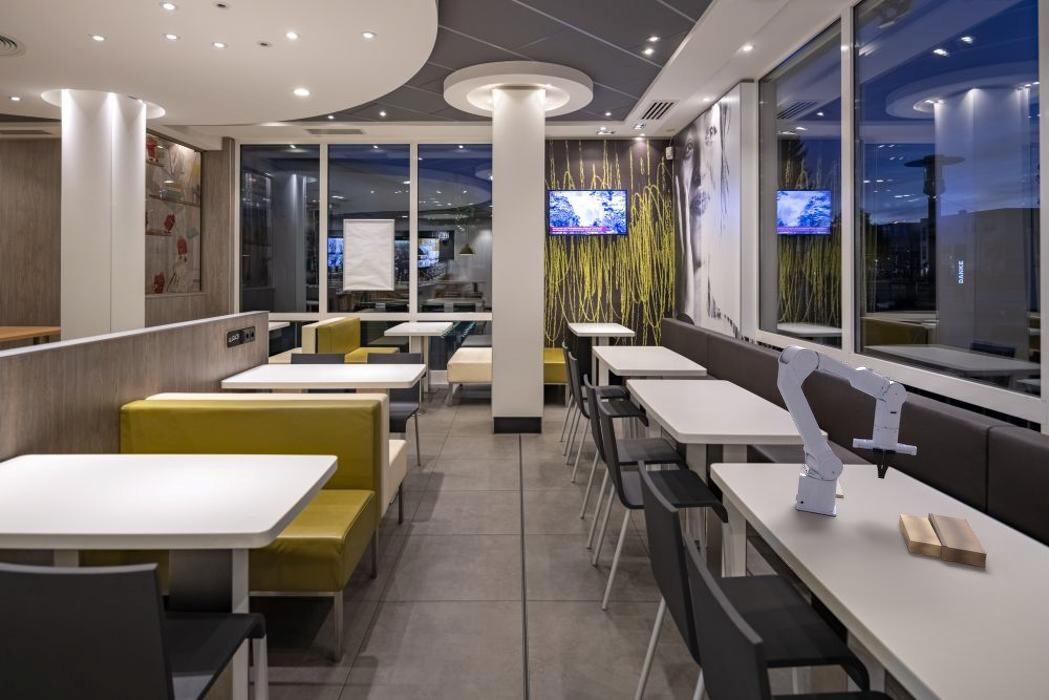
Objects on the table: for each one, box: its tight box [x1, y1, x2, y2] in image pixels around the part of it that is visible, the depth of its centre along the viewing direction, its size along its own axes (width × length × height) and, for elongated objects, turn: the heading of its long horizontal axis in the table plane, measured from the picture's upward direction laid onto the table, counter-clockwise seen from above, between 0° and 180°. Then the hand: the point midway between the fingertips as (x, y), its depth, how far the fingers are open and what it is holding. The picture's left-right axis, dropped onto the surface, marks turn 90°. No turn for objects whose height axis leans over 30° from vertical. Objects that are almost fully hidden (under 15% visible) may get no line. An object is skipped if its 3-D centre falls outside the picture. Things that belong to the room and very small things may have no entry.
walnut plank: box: [927, 512, 987, 568], centre depth 157 cm, size 8×24×3 cm, turn 156°
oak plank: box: [898, 513, 942, 558], centre depth 159 cm, size 6×20×3 cm, turn 157°
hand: (880, 477), depth 177 cm, fingers closed
